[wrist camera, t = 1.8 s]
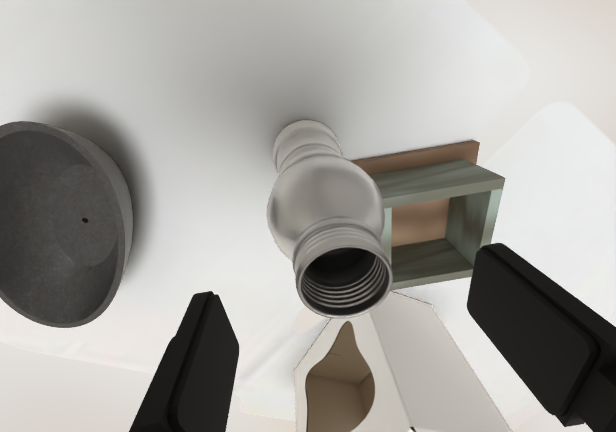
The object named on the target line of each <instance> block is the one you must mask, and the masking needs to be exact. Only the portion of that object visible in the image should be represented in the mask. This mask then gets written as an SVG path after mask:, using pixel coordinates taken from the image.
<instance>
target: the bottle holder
mask: <svg viewBox="0 0 616 432" xmlns="http://www.w3.org/2000/svg"><path fill="white" fill-rule="evenodd" d="M479 144H480V143H479V142H477V141H474V140H473V141H467V142H461V143H456V144H450V145H444V146H438V147H432V148H426V149H420V150H414V151H408V152H403V153H397V154H391V155H385V156H379V157H373V158H367V159H361V160H355V161H350V162H352V163H353V164H355V165H357V166H358V167H360V168H361V169H362V170H363V171H364V172H365V173H367V174H368V175H369V176H370V177H371V178H372V179H373V181H374V182H375V184H376V185H377V187H378V188H379V190H380V193H381V196H382V198H383V205H384V212H385V226H384V230H383V233H382V236H381V238H380V241H381V243H382V245H383V248H384V253H385V255H386V256H387V258H388V260H389V262H390V265H391V269H392V272H393V283H392V287H391V290H396V289H402V288H408V287H413V286H419V285H425V284H431V283H437V282H443V281H449V280H455V279H461V278H466V277H472V273H473V268H474V262H475V256H476V252H477V251H479V250H480V248H481V247H482V246H484V245H489V244H491V239H492V235H493V231H494V226H495V222H496V217H497V213H498V208H499V204H500V199H501V195H502V190H503V186H504V182H505V178H504V177H502V176H500V175H498V174H496V173H493V172H491V171H489V170H487V169H485V168H482V167H480V166H478V165H476V162H477V156H478V150H479Z"/></svg>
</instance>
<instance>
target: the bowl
mask: <svg viewBox="0 0 616 432" xmlns="http://www.w3.org/2000/svg"><path fill="white" fill-rule="evenodd" d="M132 234H133V210H132V202H131V197H130V193H129V189H128V186H127V183H126V181H125V179H124V176H123V174H122V172H121V171H120V169H119V167H118V166H117V165H116V163H115V162H114V161H113V159H112V158H111V157H110V156H109V155H108V154H107V153H106V152H105V151H104V150H102V149H101V148H100V147H99V146H97V145H96V144H94V143H93V142H91V141H90V140H88V139H86V138H84V137H82V136H80V135H78V134H76V133H73V132H71V131H68V130H65V129H62V128H59V127H55V126H51V125H47V124H41V123H35V122H23V121H20V122H12V123H8V124H4V125H2V126H0V298H1V299H2V300H3V301H4V302H5V303H6V304H8V305H9V306H10V307H11V308H12V309H14V310H15V311H16V312H18V313H19V314H21V315H23V316H24V317H26V318H28V319H30V320H32V321H34V322H37V323H40V324H43V325H46V326H51V327H58V328H71V327H77V326H81V325H84V324H87V323H89V322H91V321H93V320H94V319H96V318H97V317H99V316H100V315H101V314H102V313H103V312H104V311H105V310H106V309H107V307H108V306H109V305H110V303H111V302H112V300H113V298H114V296H115V294H116V292H117V290H118V287H119V285H120V282H121V280H122V277H123V274H124V271H125V268H126V265H127V262H128V258H129V253H130V248H131V242H132Z"/></svg>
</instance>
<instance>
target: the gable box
mask: <svg viewBox="0 0 616 432" xmlns="http://www.w3.org/2000/svg"><path fill="white" fill-rule="evenodd" d="M294 383H295V413H296V432H513V431H512V430H511V428H510V426H509V425H508V423H507V422H506V420H505V419H504V417H503V416H502V414H501V413H500V411H499V409H498V408H497V406H496V405H495V403H494V402H493V400H492V399H491V397H490V395H489V394H488V392H487V391H486V389H485V388H484V386H483V385H482V383H481V381H480V380H479V378H478V377H477V375H476V374H475V372H474V371H473V369H472V368H471V366H470V364H469V363H468V361H467V360H466V358H465V357H464V355H463V354H462V352H461V350H460V349H459V347H458V346H457V344H456V343H455V341H454V340H453V338H452V336H451V335H450V333H449V332H448V330H447V329H446V327H445V326H444V324H443V323H442V321H441V319H440V318H439V316H438V315H437V313H436V312H435V310H434V309H433V307H432V305H430V304H427V303H424V302H421V301H418V300H415V299H412V298H409V297H406V296H403V295H400V294H397V293H394V292H391V291H390V292H389V294H388V295H387V297H386V298H385V299H384V301H383V302H382V303H381V304H380V305H378V306H377V307H376V308H374V309H373V310H371V311H369V312H367V313H365V314H363V315H360V316H357V317H352V318H344V319H337V318H331V320H330V321H329V323H328V324H327V325H326V327H325V328H324V330H323V331H322V332H321V334H320V335H319V337H318V338H317V339H316V341H315V342H314V344H313V345H312V346H311V348H310V349H309V351H308V352H307V354H306V355H305V356H304V358H303V359H302V361H301V362H300V363H299V365H298V366H297V368H296V369H295V370H294ZM358 385H359V386H358Z"/></svg>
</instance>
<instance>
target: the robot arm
mask: <svg viewBox="0 0 616 432" xmlns="http://www.w3.org/2000/svg"><path fill="white" fill-rule="evenodd" d="M467 309H468V312H469V313H470V315H471V316H472V318H473V319H474V320H475V321H476V323H477V324H478V325H479V326H480V328H481V329H482V330H483V331H484V333H485V334H486V335H487V336H488V338H489V339H490V340H491V342H492V343H493V344H494V345H495V347H496V348H497V349H498V350H499V352H500V353H501V354H502V355H503V357H504V358H505V359H506V360H507V362H508V363H509V364H510V365H511V367H512V368H513V369H514V370H515V372H516V373H517V374H518V376H519V377H520V378H521V379H522V381H523V382H524V383H525V384H526V386H527V387H528V388H529V389H530V391H531V392H532V393H533V394H534V396H535V397H536V398H537V399H538V401H539V402H540V403H541V404H542V406H543V407H544V408H545V409H546V410H547V411H548V412H549V413H550V414H552V415H555V416H556V417H557V418H558V419H559V420H560V422H561V423H562V424H563V426H564V427H567V426H573V425H579V424H584V423H586V424H587V425H588V426H589V427H590V429H592V431H593V432H616V327H615V326H613V325H612V324H611V323H609V322H608V321H607V320H605V319H604V318H603V317H601V316H600V315H599V314H597V313H596V312H595V311H593V310H592V309H590V308H589V307H588V306H586V305H585V304H584V303H582V302H581V301H580V300H578V299H577V298H576V297H574V296H573V295H572V294H570V293H569V292H568V291H566V290H565V289H563V288H562V287H561V286H559V285H558V284H557V283H555V282H554V281H553V280H551V279H550V278H549V277H547V276H546V275H545V274H543V273H542V272H541V271H539V270H538V269H536V268H535V267H534V266H532V265H531V264H530V263H528V262H527V261H526V260H524V259H523V258H522V257H520V256H519V255H518V254H516V253H515V252H514V251H512V250H511V249H510V248H508V247H507V246H505V245H504V244H502V243H495V244H489V245H484V246H482V247H481V248H480V250H479V251H477V252H476V256H475V262H474V268H473V273H472V279H471V284H470V290H469V295H468V301H467ZM238 356H239V344H238V341H237V339H236V336H235V334H234V331H233V329H232V326H231V324H230V322H229V319H228V317H227V314H226V312H225V310H224V307H223V305H222V302H221V300H220V297H219V296H218V295H214V294H213V292H212V291H209V292H203V293H197V294H194V295H193V297H192V299H191V301H190V304H189V306H188V308H187V311H186V313H185V315H184V317H183V320H182V322H181V324H180V326H179V329H178V331H177V333H176V336H175V337H173V338H172V339H171V341H170V342H169V344H168V346H167V349H166V351H165V353H164V355H163V357H162V360H161V362H160V364H159V366H158V369H157V371H156V373H155V375H154V377H153V380H152V382H151V384H150V386H149V388H148V391H147V393H146V395H145V397H144V400H143V402H142V404H141V406H140V408H139V411H138V413H137V415H136V417H135V420H134V422H133V424H132V426H131V428H130V431H129V432H225V431H226V425H227V419H228V413H229V408H230V402H231V396H232V391H233V385H234V379H235V374H236V368H237V362H238Z"/></svg>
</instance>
